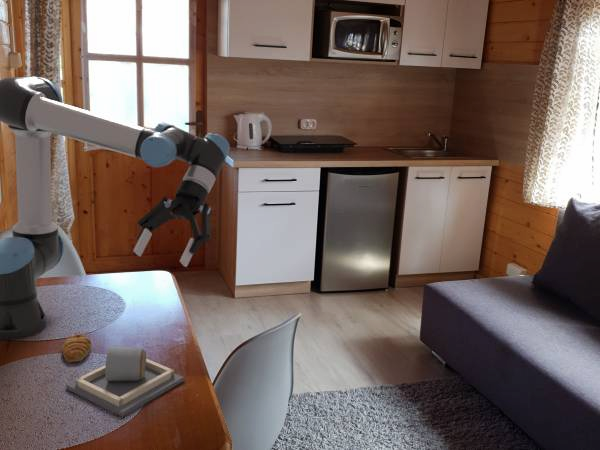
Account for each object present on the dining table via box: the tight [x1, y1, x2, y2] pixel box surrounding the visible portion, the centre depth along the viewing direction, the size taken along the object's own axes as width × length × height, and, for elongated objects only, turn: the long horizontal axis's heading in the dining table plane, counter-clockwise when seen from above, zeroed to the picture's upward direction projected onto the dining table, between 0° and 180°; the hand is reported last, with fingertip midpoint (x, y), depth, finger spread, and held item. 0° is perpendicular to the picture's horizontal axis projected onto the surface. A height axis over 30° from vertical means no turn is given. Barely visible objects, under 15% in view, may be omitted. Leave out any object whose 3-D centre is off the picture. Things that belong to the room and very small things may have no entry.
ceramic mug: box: [105, 345, 147, 381], centre depth 136 cm, size 11×8×8 cm
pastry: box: [61, 333, 92, 363], centre depth 147 cm, size 9×7×4 cm
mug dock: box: [65, 358, 185, 418], centre depth 135 cm, size 18×18×2 cm
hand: (159, 258), depth 145 cm, fingers open, 13 cm apart
